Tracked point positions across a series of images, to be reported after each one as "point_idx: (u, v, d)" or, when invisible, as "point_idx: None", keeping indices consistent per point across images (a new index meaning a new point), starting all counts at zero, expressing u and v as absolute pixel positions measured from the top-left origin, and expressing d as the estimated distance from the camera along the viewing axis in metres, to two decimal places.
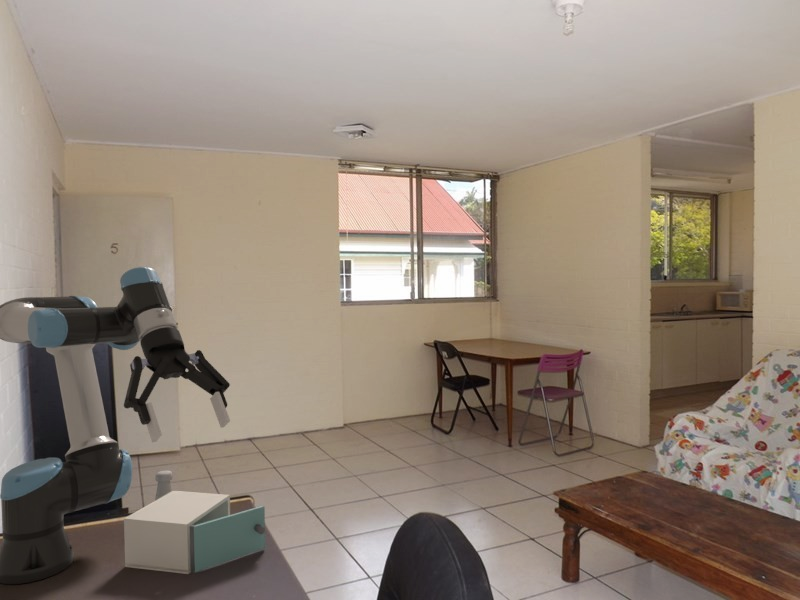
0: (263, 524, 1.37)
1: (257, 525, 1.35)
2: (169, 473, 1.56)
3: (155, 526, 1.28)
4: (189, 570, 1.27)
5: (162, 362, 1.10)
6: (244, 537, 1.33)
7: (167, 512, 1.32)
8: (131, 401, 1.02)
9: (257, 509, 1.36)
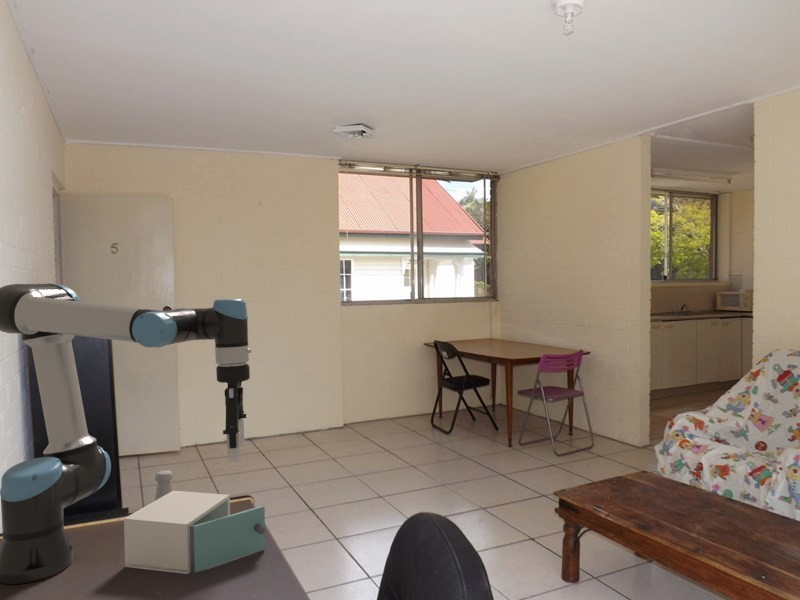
0: (263, 524, 1.37)
1: (257, 525, 1.35)
2: (169, 473, 1.56)
3: (155, 526, 1.28)
4: (189, 570, 1.27)
5: (241, 395, 1.34)
6: (244, 537, 1.33)
7: (167, 512, 1.32)
8: (236, 431, 1.27)
9: (257, 509, 1.36)
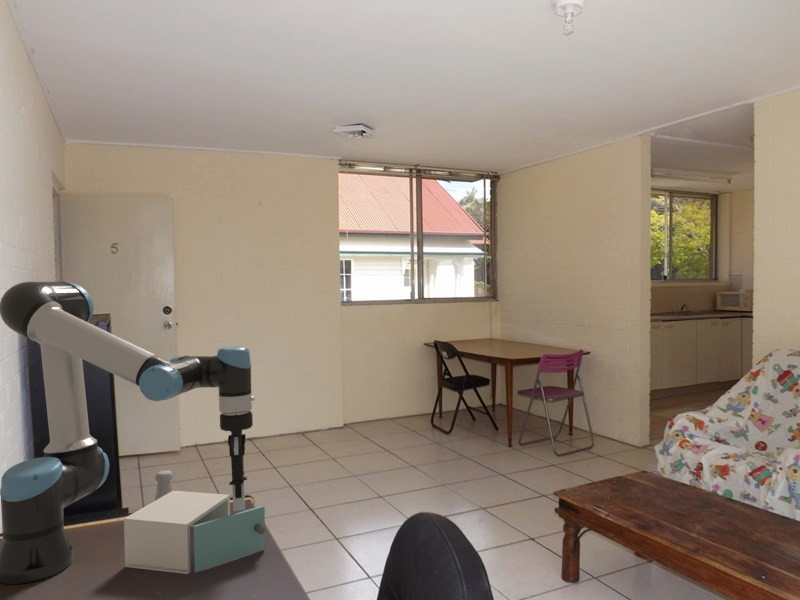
0: (263, 524, 1.37)
1: (257, 525, 1.35)
2: (169, 473, 1.56)
3: (155, 526, 1.28)
4: (189, 570, 1.27)
5: (244, 444, 1.37)
6: (244, 537, 1.33)
7: (167, 512, 1.32)
8: (242, 482, 1.36)
9: (257, 509, 1.36)
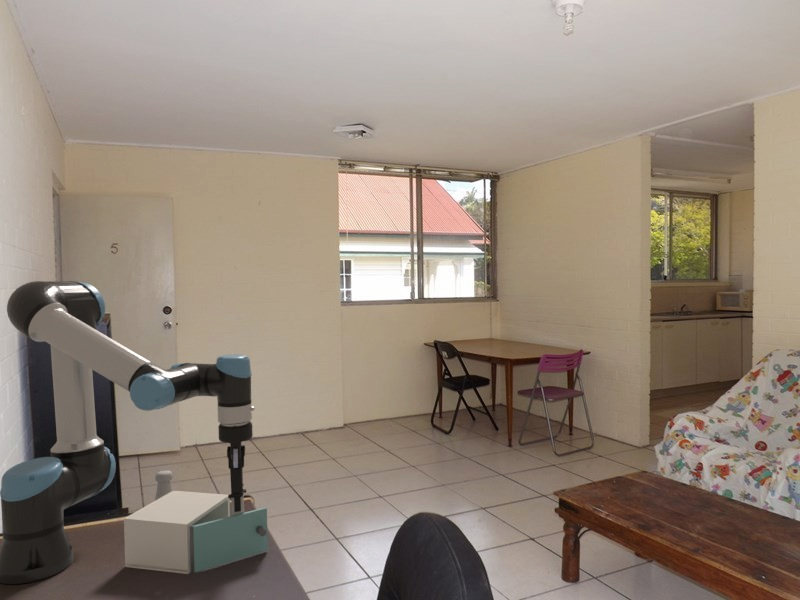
0: (265, 526, 1.36)
1: (259, 527, 1.34)
2: (169, 473, 1.56)
3: (155, 526, 1.28)
4: (189, 570, 1.27)
5: (244, 455, 1.32)
6: (246, 539, 1.33)
7: (167, 512, 1.32)
8: None
9: (259, 511, 1.35)
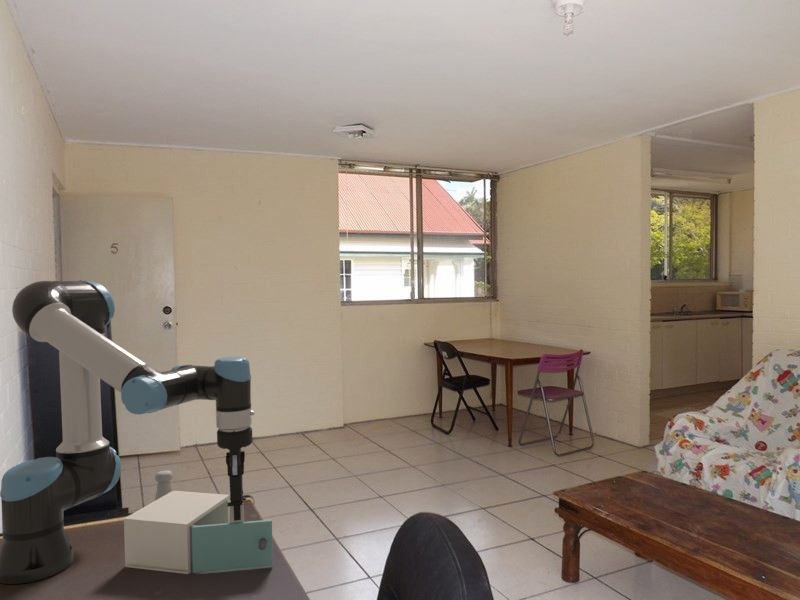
0: (270, 539, 1.28)
1: (261, 539, 1.27)
2: (169, 473, 1.56)
3: (155, 526, 1.28)
4: (189, 570, 1.27)
5: (243, 462, 1.27)
6: (248, 549, 1.27)
7: (167, 512, 1.32)
8: (242, 503, 1.26)
9: (263, 522, 1.28)
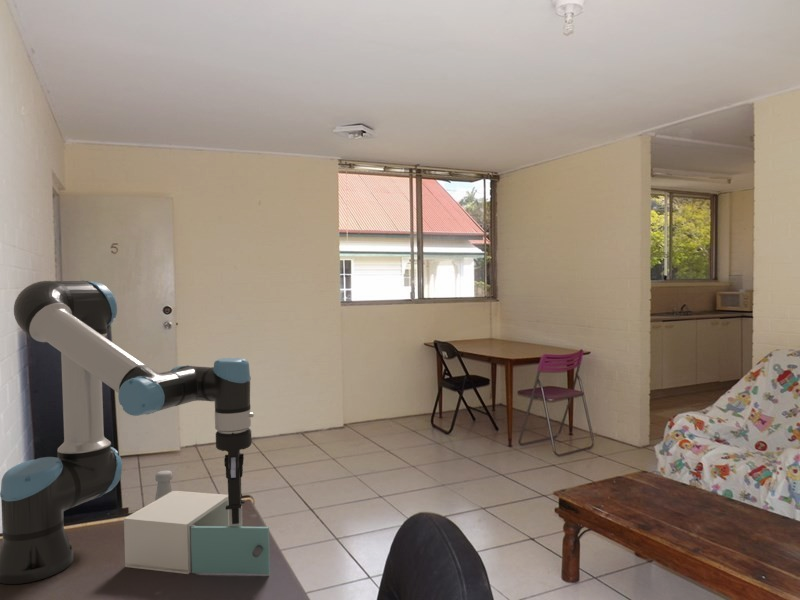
0: (266, 547, 1.24)
1: (257, 546, 1.24)
2: (169, 473, 1.56)
3: (155, 526, 1.28)
4: (189, 570, 1.27)
5: (242, 464, 1.25)
6: (244, 555, 1.25)
7: (167, 512, 1.32)
8: None
9: (259, 529, 1.24)
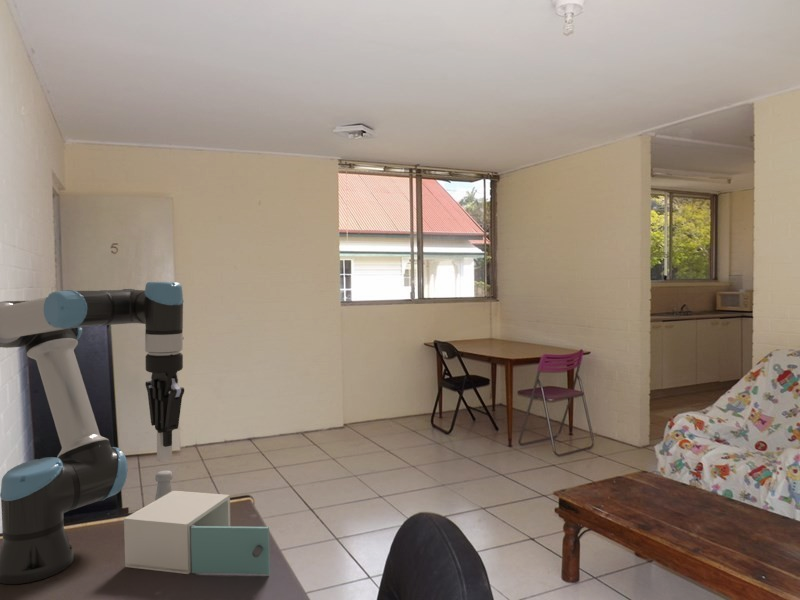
0: (266, 547, 1.24)
1: (257, 546, 1.24)
2: (169, 473, 1.56)
3: (155, 526, 1.28)
4: (189, 570, 1.27)
5: None
6: (244, 555, 1.25)
7: (167, 512, 1.32)
8: None
9: (259, 529, 1.24)
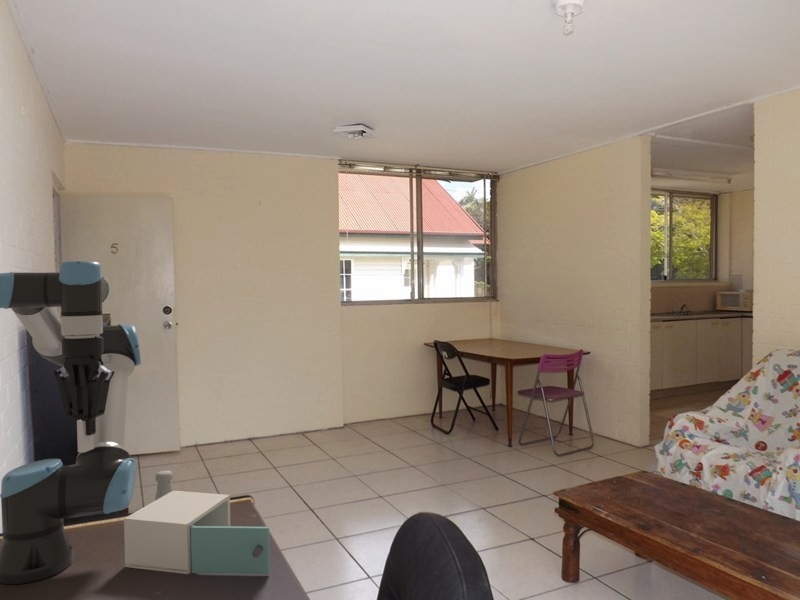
0: (266, 547, 1.24)
1: (257, 546, 1.24)
2: (169, 473, 1.56)
3: (155, 526, 1.28)
4: (189, 570, 1.27)
5: None
6: (244, 555, 1.25)
7: (167, 512, 1.32)
8: None
9: (259, 529, 1.24)
